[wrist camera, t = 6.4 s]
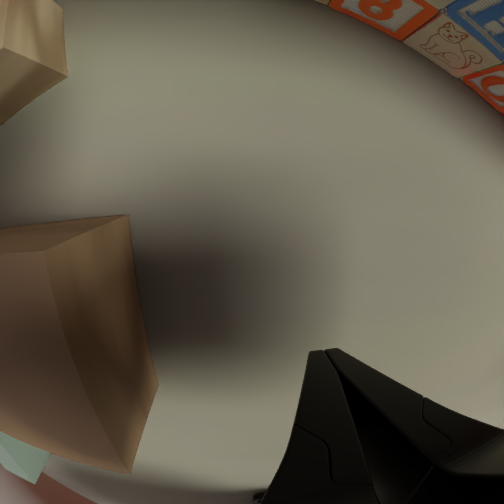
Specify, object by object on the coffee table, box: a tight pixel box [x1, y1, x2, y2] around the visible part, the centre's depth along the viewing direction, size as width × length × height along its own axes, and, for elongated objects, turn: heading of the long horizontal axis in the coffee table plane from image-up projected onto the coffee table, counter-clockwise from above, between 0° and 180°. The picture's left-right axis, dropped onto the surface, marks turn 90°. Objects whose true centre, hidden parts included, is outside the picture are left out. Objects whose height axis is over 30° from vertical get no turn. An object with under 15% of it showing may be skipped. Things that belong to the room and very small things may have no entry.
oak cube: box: [0, 0, 68, 125], centre depth 5 cm, size 4×4×4 cm
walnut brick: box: [0, 215, 159, 474], centre depth 8 cm, size 7×10×5 cm
